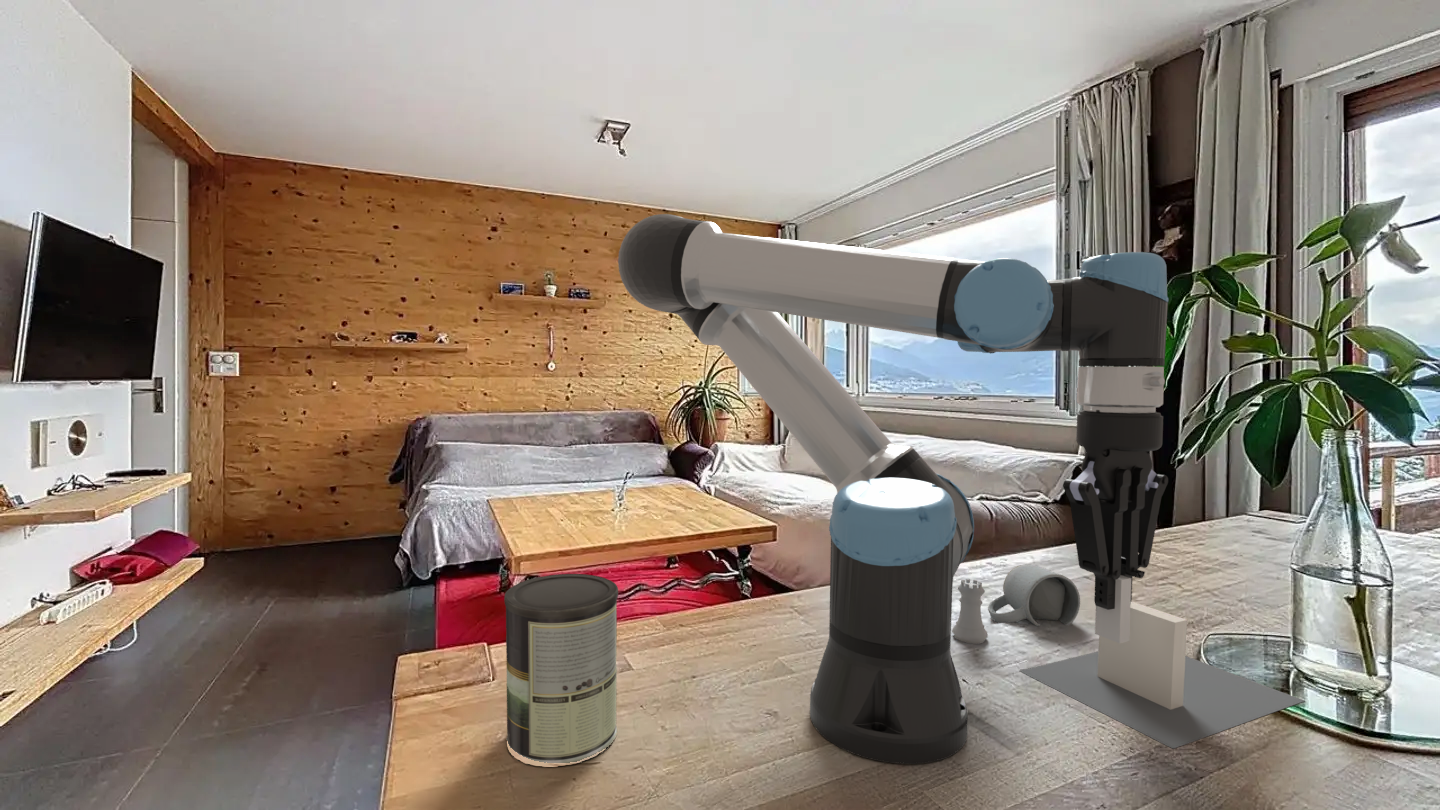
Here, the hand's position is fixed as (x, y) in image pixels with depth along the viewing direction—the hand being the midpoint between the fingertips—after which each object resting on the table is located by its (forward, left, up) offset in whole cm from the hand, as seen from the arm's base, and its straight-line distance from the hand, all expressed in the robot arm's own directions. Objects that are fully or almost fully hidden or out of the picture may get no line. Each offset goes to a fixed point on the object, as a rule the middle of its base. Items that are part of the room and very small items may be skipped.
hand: (1111, 637), depth 69 cm
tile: (+5, 0, -7) cm, 9 cm away
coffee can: (-53, +17, -8) cm, 56 cm away
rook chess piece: (-1, +18, -8) cm, 20 cm away
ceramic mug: (+13, +21, -8) cm, 26 cm away
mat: (+8, 0, -8) cm, 11 cm away
